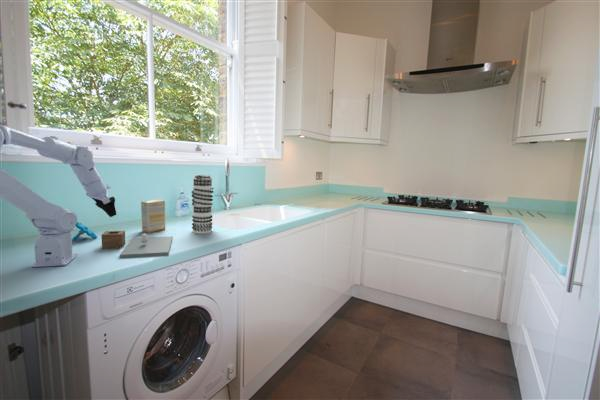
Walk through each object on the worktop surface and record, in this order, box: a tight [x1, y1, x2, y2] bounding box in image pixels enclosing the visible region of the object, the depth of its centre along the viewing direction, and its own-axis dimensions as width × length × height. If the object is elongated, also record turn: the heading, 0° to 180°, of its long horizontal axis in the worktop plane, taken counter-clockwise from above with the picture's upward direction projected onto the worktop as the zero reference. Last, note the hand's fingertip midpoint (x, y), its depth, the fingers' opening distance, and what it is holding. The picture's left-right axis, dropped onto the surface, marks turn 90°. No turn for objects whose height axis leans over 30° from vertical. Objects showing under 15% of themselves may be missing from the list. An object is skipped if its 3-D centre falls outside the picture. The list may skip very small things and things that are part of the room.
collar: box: [101, 230, 126, 250], centre depth 102 cm, size 5×6×5 cm
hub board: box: [119, 233, 173, 259], centre depth 103 cm, size 20×14×5 cm
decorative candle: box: [191, 174, 214, 234], centre depth 128 cm, size 9×9×25 cm
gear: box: [71, 220, 98, 241], centre depth 108 cm, size 11×6×10 cm
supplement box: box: [140, 199, 166, 233], centre depth 125 cm, size 8×5×13 cm, turn 149°
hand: (109, 211), depth 104 cm, fingers open, 7 cm apart
